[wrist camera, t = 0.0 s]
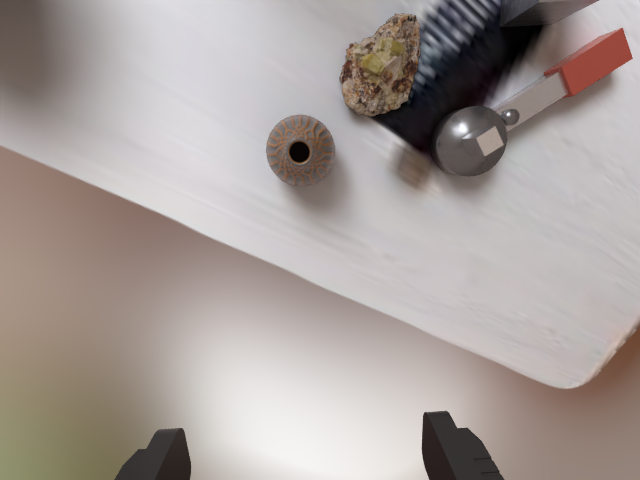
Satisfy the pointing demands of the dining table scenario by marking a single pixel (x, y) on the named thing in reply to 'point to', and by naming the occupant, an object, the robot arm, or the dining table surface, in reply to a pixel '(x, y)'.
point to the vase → (300, 150)
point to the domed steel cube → (538, 11)
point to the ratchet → (520, 107)
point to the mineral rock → (382, 67)
